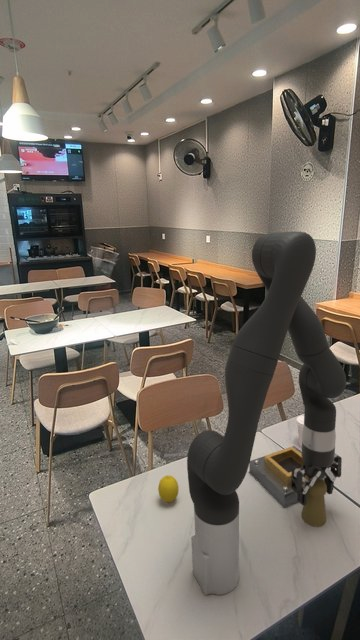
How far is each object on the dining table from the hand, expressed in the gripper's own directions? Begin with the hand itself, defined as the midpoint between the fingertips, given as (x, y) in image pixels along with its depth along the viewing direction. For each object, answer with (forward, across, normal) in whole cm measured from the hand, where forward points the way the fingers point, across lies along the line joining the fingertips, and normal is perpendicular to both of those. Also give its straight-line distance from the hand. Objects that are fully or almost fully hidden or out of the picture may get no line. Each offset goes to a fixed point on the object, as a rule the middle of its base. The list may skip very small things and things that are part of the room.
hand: (315, 497), depth 93 cm
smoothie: (+6, +20, +25) cm, 32 cm away
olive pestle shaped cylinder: (+6, 0, 0) cm, 6 cm away
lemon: (+6, -31, +22) cm, 39 cm away
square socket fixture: (+6, +4, +14) cm, 15 cm away
